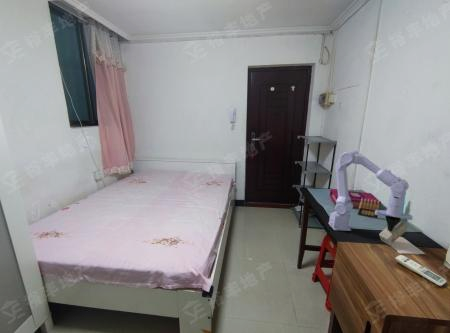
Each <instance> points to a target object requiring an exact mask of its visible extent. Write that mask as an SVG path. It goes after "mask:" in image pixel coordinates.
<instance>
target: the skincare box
mask: <svg viewBox="0 0 450 333" xmlns="http://www.w3.org/2000/svg"><path fill="white" fill-rule="evenodd" d="M407 230H408V228H407V223H406V222H404V221H402V220H401V221H400V222H399V223H398V224H397V225H396V226H395V227H394V229H393V230H392V232H391V231H388V227H387V226H386V228H384V229H383V230H381V232H379V235H378V236H379V238H380V241H382V242H383V243H385V244H386V245H388V246H390V245H391V244H392V243H393V242H394V241H395V240H396V239H397V238H399V237H402V235H403V234H404V233H405V232H406V231H407ZM390 247H391V246H390Z"/></svg>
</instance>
